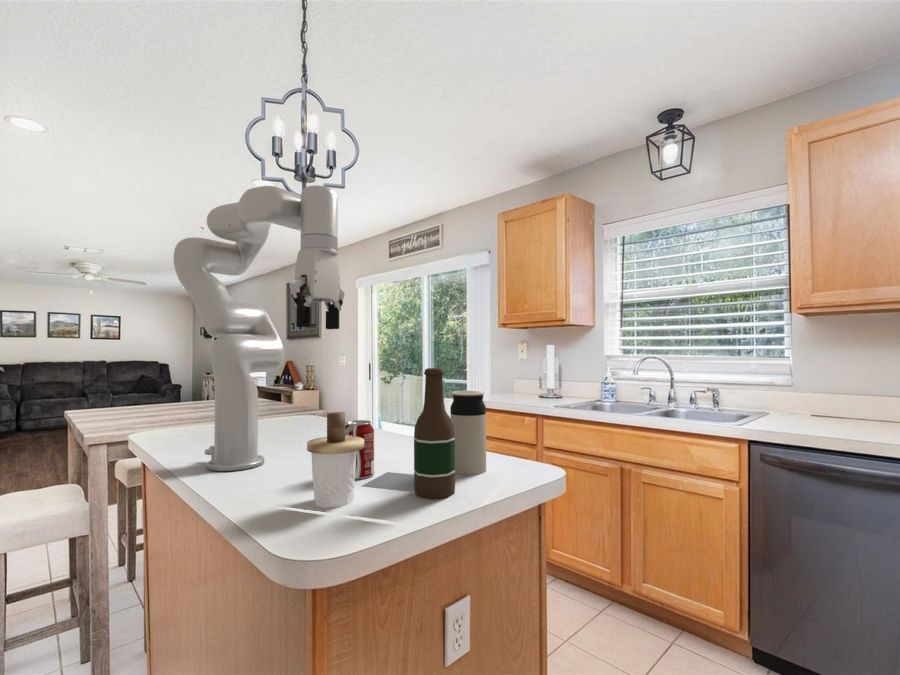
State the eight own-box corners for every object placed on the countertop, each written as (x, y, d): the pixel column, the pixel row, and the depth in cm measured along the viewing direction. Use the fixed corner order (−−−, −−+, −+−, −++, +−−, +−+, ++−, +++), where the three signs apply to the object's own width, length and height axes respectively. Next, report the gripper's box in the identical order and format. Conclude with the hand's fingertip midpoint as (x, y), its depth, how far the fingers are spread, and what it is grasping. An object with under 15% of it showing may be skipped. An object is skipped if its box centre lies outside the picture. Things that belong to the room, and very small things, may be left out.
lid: (294, 451, 79) (295, 415, 79) (328, 440, 89) (328, 408, 89) (344, 455, 76) (344, 418, 76) (374, 444, 85) (374, 410, 86)
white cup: (362, 506, 81) (362, 449, 81) (317, 514, 77) (317, 454, 77) (348, 494, 87) (348, 441, 88) (306, 501, 84) (306, 446, 84)
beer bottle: (405, 495, 87) (405, 368, 87) (437, 487, 92) (437, 367, 92) (430, 505, 81) (430, 369, 81) (463, 496, 86) (462, 368, 86)
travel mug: (482, 478, 98) (481, 393, 98) (446, 475, 100) (446, 393, 101) (489, 468, 106) (488, 390, 106) (456, 466, 108) (455, 390, 108)
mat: (361, 488, 91) (361, 485, 91) (387, 474, 101) (387, 472, 101) (411, 494, 87) (411, 491, 87) (433, 478, 98) (433, 476, 98)
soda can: (377, 473, 102) (377, 419, 102) (369, 482, 95) (369, 424, 95) (348, 473, 102) (348, 419, 103) (337, 481, 96) (337, 424, 96)
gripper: (328, 256, 106) (328, 330, 105) (276, 239, 90) (275, 326, 89) (356, 253, 103) (356, 329, 103) (307, 236, 87) (307, 325, 87)
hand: (318, 328), depth 96 cm, fingers open, 9 cm apart
